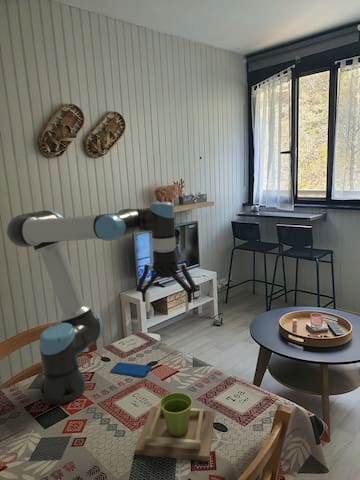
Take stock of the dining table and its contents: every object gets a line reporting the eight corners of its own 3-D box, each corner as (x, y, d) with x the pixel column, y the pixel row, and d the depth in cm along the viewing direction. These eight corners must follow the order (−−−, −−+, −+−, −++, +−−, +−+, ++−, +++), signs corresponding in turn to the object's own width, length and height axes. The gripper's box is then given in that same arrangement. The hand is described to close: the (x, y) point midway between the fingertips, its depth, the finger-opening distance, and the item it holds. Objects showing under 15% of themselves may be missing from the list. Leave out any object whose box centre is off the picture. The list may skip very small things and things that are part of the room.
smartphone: (118, 362, 144) (152, 366, 139) (118, 364, 144) (152, 368, 140) (109, 371, 137) (144, 376, 133) (109, 374, 138) (145, 378, 133)
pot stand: (135, 454, 96) (134, 443, 96) (151, 411, 114) (151, 401, 113) (209, 461, 93) (208, 449, 92) (214, 415, 110) (214, 405, 110)
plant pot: (168, 445, 97) (166, 417, 96) (156, 424, 106) (155, 397, 104) (199, 434, 101) (198, 406, 99) (185, 414, 109) (184, 388, 108)
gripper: (203, 247, 118) (205, 307, 122) (131, 247, 122) (135, 306, 126) (201, 252, 111) (203, 316, 115) (124, 252, 115) (128, 314, 119)
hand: (167, 311), depth 121 cm, fingers open, 13 cm apart
